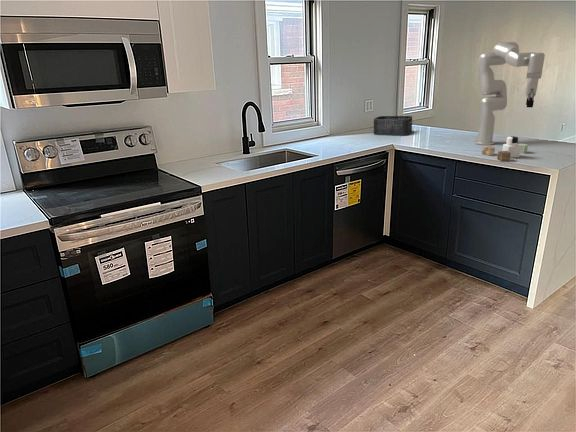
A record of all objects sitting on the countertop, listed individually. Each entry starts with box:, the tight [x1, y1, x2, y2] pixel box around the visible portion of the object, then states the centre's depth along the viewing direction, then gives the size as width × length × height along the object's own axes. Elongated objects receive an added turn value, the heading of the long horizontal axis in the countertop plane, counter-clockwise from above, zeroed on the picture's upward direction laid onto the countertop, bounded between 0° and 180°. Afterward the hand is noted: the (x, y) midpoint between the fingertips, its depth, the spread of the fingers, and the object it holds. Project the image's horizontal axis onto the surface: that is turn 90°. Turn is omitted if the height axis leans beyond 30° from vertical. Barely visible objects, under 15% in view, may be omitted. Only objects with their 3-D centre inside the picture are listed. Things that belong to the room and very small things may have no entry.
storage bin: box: [373, 115, 413, 137], centre depth 347 cm, size 29×19×13 cm
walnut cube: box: [496, 150, 511, 162], centre depth 247 cm, size 5×5×5 cm
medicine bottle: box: [501, 135, 521, 159], centre depth 253 cm, size 7×7×12 cm
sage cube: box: [517, 143, 529, 154], centre depth 263 cm, size 5×5×5 cm
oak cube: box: [481, 145, 496, 156], centre depth 262 cm, size 5×5×5 cm
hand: (529, 106), depth 247 cm, fingers open, 9 cm apart
